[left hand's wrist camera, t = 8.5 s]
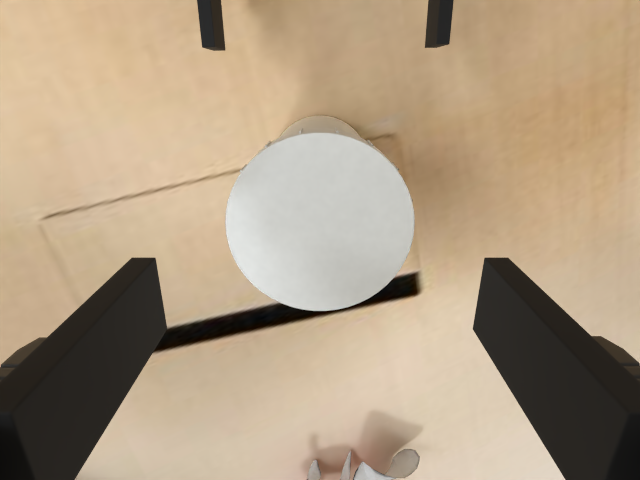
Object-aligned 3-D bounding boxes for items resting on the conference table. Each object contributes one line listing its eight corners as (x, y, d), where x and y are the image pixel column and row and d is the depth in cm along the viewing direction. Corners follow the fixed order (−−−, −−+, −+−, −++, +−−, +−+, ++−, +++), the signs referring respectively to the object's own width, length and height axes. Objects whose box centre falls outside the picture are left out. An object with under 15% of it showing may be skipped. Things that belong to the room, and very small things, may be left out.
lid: (210, 146, 20) (198, 153, 18) (395, 108, 19) (403, 111, 17) (257, 305, 23) (251, 324, 21) (416, 276, 22) (425, 294, 21)
